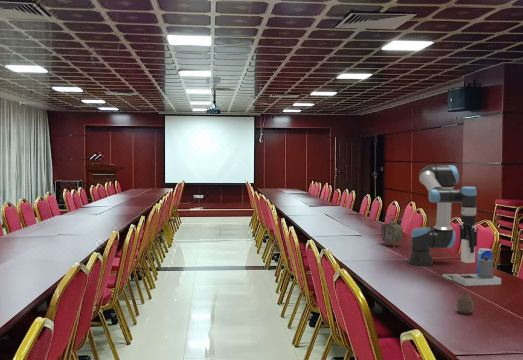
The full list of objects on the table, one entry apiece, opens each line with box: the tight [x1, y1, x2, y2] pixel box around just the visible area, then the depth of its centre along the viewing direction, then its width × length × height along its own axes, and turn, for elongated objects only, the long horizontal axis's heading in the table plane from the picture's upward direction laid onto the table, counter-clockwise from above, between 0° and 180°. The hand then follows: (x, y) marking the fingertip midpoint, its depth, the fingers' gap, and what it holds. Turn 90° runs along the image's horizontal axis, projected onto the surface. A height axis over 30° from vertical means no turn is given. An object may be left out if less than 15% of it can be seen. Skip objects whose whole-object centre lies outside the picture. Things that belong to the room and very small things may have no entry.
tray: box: [441, 273, 459, 281], centre depth 278 cm, size 9×9×2 cm
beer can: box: [476, 247, 494, 274], centre depth 284 cm, size 8×8×16 cm
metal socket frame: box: [452, 273, 502, 287], centre depth 268 cm, size 12×21×4 cm, turn 100°
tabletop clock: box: [381, 214, 403, 249], centre depth 384 cm, size 14×9×25 cm, turn 25°
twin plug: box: [479, 256, 494, 278], centre depth 269 cm, size 5×5×14 cm
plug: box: [460, 235, 476, 264], centre depth 266 cm, size 5×5×14 cm
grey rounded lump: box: [456, 291, 474, 315], centre depth 217 cm, size 7×7×9 cm
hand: (467, 257), depth 266 cm, fingers closed on plug, 5 cm apart
